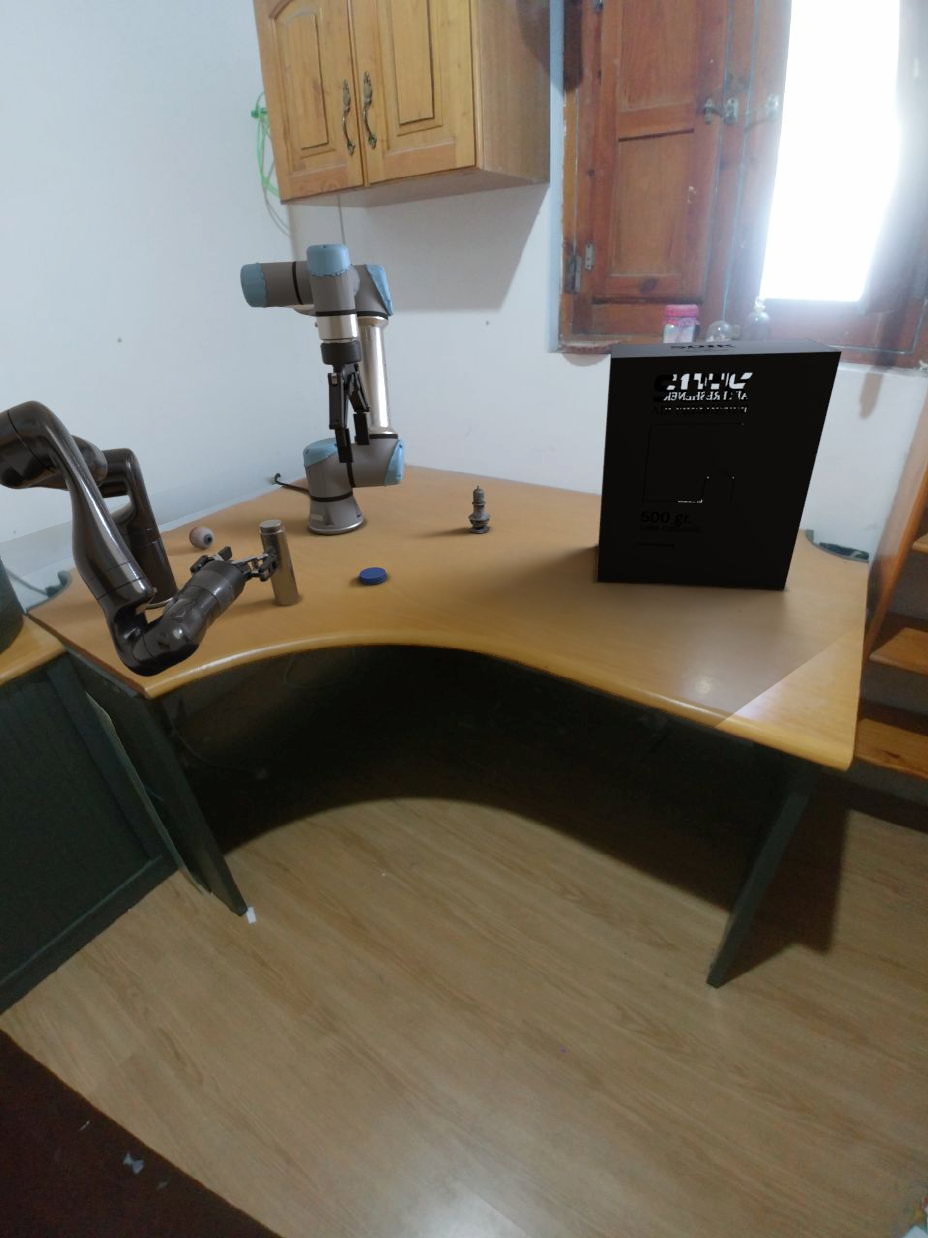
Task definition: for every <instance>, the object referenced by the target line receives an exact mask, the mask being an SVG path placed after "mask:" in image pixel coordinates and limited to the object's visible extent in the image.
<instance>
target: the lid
mask: <svg viewBox="0 0 928 1238" xmlns="http://www.w3.org/2000/svg"><path fill="white" fill-rule="evenodd" d="M358 575H359V576H358V578H359V581H360V583H361V584H363V585H369V586H373V585H380V584H381V583H383V582H385V581H386V579H387V571H386V570H385V569H384V568H383V567H379V566H373V567H372V566H371V567H367V568H365V569H362V570H361V571H360V572H359V574H358Z"/></svg>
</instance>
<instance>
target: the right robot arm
mask: <svg viewBox="0 0 928 1238" xmlns="http://www.w3.org/2000/svg"><path fill="white" fill-rule="evenodd" d="M305 255H306V260H294V261H275V262H273V261H272V262H255V263H247V264H244V265H242V266H241V268H240V271H239V280H240V285H241V286H240V287H241V291H242V295H243V298H244V299H245V302H246V304H247V305H248V306H249V307H251V308H263V309H267V308H285V309H292V310H293V311H295V312H296V313H297V314H300V315H303V316H309V317H312V318H313V317H314V318H315V320H316V321H314V327H315V328H317V332H318V339H319V340H320V341H322V342H321V343H320V344H319V348H320V354H321V360H322V364H324V365H327V366H331V367H332V372H327V383H328V384H327V385H328V429H329V430H330V431H333V430H334V437H333V436H332V437H327V438H323V439H320V440H316V441H314V442H312V443H309V444H308V445H306V446H305V447H304V448H303V450H302V457H303V459H302V460H303V467H304V471H305V477H306V481H307V486H308V488H305V487H303V486H300V485H299V486H298V485H294V484H289V483H286V482H282V481H278V478H281V477H282V475H281V474H280V472H276V473H275V475H274V478H273V480H274V483H275V484H276V485H279V486H282V487H285V488H286V487H287V488H290V489H295V490H300V491H302V492H306V493H308V494H309V498H310V507H309V513H308V523H307V524H308V528H309V529H308V530H310V531H311V532H312V533H314V534H317V535H323V536H324V535H325V536H327V535H329V536H331V535H339V534H340V535H341V534H345V533H350V532H353V531H355V530H357V529H359V528H361V527H362V526H363V525H364V523H365V519H364V514H363V512H362V510H361V508H360V505H359V504H358V501H357V500H356V498H355V495H354V489H360V488H377V487H384V488H385V487H388V486H397V485H400V484H401V482H402V481H403V478H404V470H405V469H404V468H405V441H404V440H402V439H399V433H398V432H397V431H396V430H395V428H394V427H393V426H392V415H391V405H390V393H389V381H388V370H387V369H388V368H387V358H386V347H385V333H384V331H385V330H386V329H387V327H388V326H389V323H390V321H389V317H392V316H393V315H394V313H395V312H394V307H393V302H392V297H391V291H390V286H389V282H388V279H387V275H386V271H385V269H384V267H383V266H382V265H380V264H367V263H364V264H354V265H353V264H352V262H351V261H352V260H351V259H350V254H349V248H348V247H347V245H346V244H344V243H323V244H311V245H309V246H307V248H306V250H305ZM349 403H350V405H351V408H352V410H353V414H352V418H353V426H354V432H355V433H354V435H353V438H354V439H353V440H354V442H353V443H352V439H351V433H350V428H349V427H348V416H349Z"/></svg>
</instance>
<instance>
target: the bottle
mask: <svg viewBox="0 0 928 1238" xmlns="http://www.w3.org/2000/svg"><path fill="white" fill-rule="evenodd" d="M258 526H259V528H258V529H259V531H258V532H259V537H260V541H261V545H262V549H263V552H264V551H265V550H266V549H267V548H268V547H269V546H273V547H274V549H275V551H276V558H277V562H278V567H279V569H278V570H277V571H276V572H275V573H274V574H273V575H272V576H271V577H270V578H269V579H270V583H271V587H272V590H273V596H274V600H275V603H276V605H278V606H290V605H293V604H295V603H297V602H299V600H300V595H299V590H298V585H297V580H296V576H295V571H294V567H293V562H292V557H291V553H290V548H289V543H288V539H287V535H286V534H287V533H286V529H285V527H284V526H283V523H282V520H281V519H268V520H263V521H262V522H261V523H259V525H258Z"/></svg>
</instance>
